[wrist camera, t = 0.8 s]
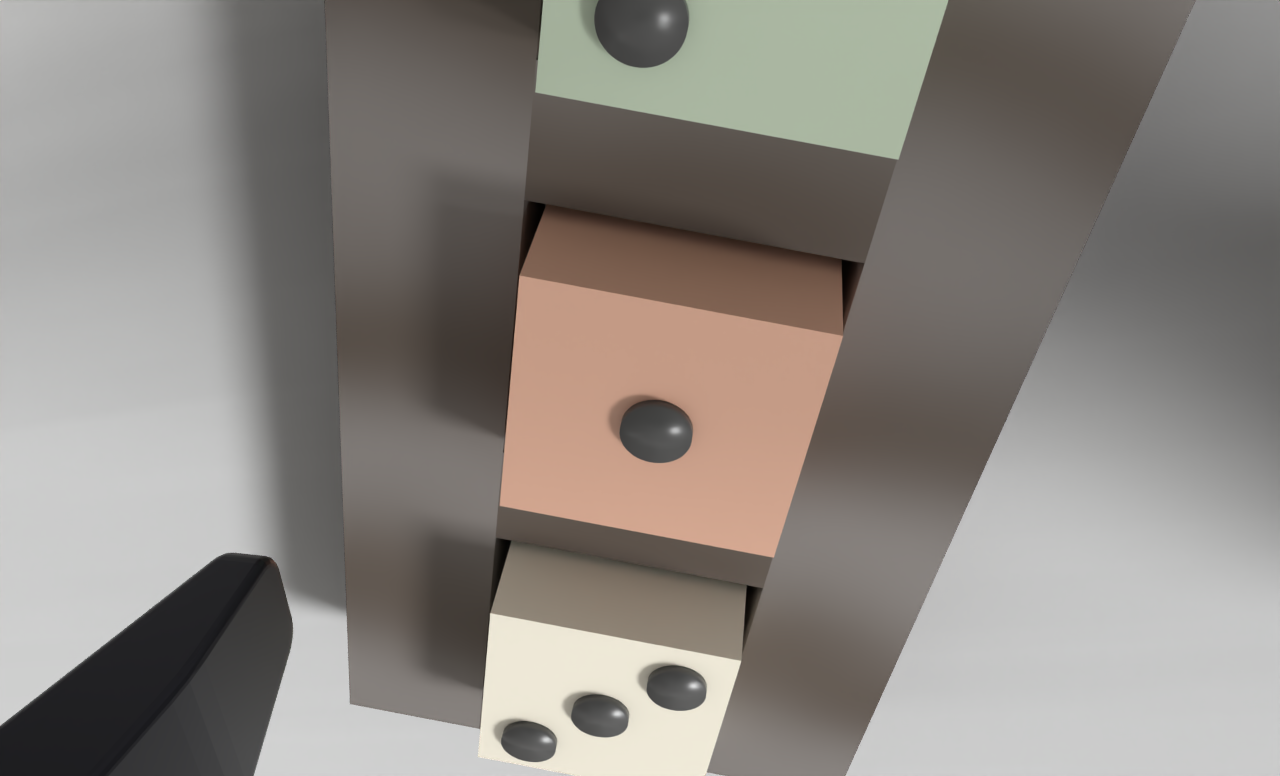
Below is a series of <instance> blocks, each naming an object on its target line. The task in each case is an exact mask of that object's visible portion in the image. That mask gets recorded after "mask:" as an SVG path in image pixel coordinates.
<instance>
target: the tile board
mask: <svg viewBox="0 0 1280 776" xmlns="http://www.w3.org/2000/svg"><path fill="white" fill-rule="evenodd" d="M1195 1H1196V0H948V3H947V6H946V10H945V13H944V16H943V19H942V22H941V26H940V29H939V32H938V35H937V38H936V42H935V45H934V48H933V51H932V54H931V58H930V61H929V64H928V67H927V70H926V73H925V77H924V80H923V83H922V86H921V89H920V93H919V96H918V99H917V102H916V105H915V109H914V112H913V115H912V118H911V121H910V125H909V128H908V131H907V134H906V137H905V141H904V144H903V147H902V150H901V153H900V156H899V160H897V159H892V158H886V157H881V156H876V155H870V154H865V153H859V152H854V151H849V150H843V149H838V148H832V147H827V146H822V145H816V144H811V143H805V142H800V141H795V140H789V139H784V138H779V137H773V136H768V135H762V134H757V133H752V132H746V131H741V130H735V129H730V128H725V127H719V126H714V125H708V124H703V123H698V122H692V121H687V120H681V119H676V118H671V117H665V116H660V115H654V114H649V113H644V112H638V111H633V110H628V109H622V108H617V107H611V106H606V105H601V104H595V103H590V102H584V101H579V100H574V99H568V98H563V97H557V96H552V95H547V94H541V93H536V92H535V90H536V79H537V67H538V55H539V44H540V32H541V21H542V9H543V0H325V25H326V53H327V81H328V108H329V136H330V163H331V191H332V219H333V246H334V274H335V302H336V329H337V357H338V384H339V412H340V440H341V467H342V495H343V523H344V550H345V578H346V606H347V633H348V661H349V688H350V704H353V705H358V706H364V707H369V708H374V709H379V710H384V711H390V712H395V713H400V714H405V715H411V716H416V717H421V718H426V719H432V720H437V721H442V722H447V723H452V724H458V725H463V726H468V727H473V728H479V729H480V727H481V716H482V704H483V693H484V681H485V669H486V658H487V646H488V635H489V623H490V613H491V609H492V606H493V602H494V599H495V596H496V592H497V589H498V585H499V582H500V579H501V575H502V572H503V568H504V565H505V561H506V558H507V555H508V551H509V548H510V544H511V541H517V542H522V543H528V544H533V545H538V546H543V547H549V548H554V549H559V550H564V551H570V552H575V553H580V554H586V555H591V556H596V557H601V558H607V559H612V560H617V561H623V562H628V563H633V564H638V565H644V566H649V567H654V568H659V569H665V570H670V571H675V572H681V573H686V574H691V575H696V576H702V577H707V578H712V579H718V580H723V581H728V582H733V583H739V584H744V585H747V588H746V602H745V617H744V631H743V646H742V660H741V664H740V667H739V670H738V674H737V677H736V680H735V683H734V686H733V690H732V693H731V696H730V699H729V702H728V705H727V709H726V712H725V715H724V718H723V721H722V725H721V728H720V731H719V734H718V737H717V741H716V744H715V747H714V750H713V753H712V757H711V760H710V763H709V766H708V769H707V772H709V773H714V774H719V775H724V776H845V775H846V773H847V771H848V769H849V766H850V764H851V762H852V760H853V758H854V755H855V753H856V751H857V749H858V746H859V744H860V742H861V740H862V738H863V735H864V733H865V731H866V729H867V727H868V724H869V722H870V720H871V718H872V715H873V713H874V711H875V709H876V707H877V704H878V702H879V700H880V698H881V696H882V693H883V691H884V689H885V687H886V684H887V682H888V680H889V678H890V676H891V673H892V671H893V669H894V667H895V665H896V662H897V660H898V658H899V656H900V654H901V651H902V649H903V647H904V645H905V642H906V640H907V638H908V636H909V634H910V631H911V629H912V627H913V625H914V623H915V620H916V618H917V616H918V614H919V611H920V609H921V607H922V605H923V603H924V600H925V598H926V596H927V594H928V592H929V589H930V587H931V585H932V583H933V580H934V578H935V576H936V574H937V572H938V569H939V567H940V565H941V563H942V561H943V558H944V556H945V554H946V552H947V549H948V547H949V545H950V543H951V541H952V538H953V536H954V534H955V532H956V530H957V527H958V525H959V523H960V521H961V518H962V516H963V514H964V512H965V510H966V507H967V505H968V503H969V501H970V499H971V496H972V494H973V492H974V490H975V487H976V485H977V483H978V481H979V479H980V476H981V474H982V472H983V470H984V468H985V465H986V463H987V461H988V459H989V457H990V454H991V452H992V450H993V448H994V445H995V443H996V441H997V439H998V437H999V434H1000V432H1001V430H1002V428H1003V426H1004V423H1005V421H1006V419H1007V417H1008V414H1009V412H1010V410H1011V408H1012V406H1013V403H1014V401H1015V399H1016V397H1017V395H1018V392H1019V390H1020V388H1021V386H1022V383H1023V381H1024V379H1025V377H1026V375H1027V372H1028V370H1029V368H1030V366H1031V364H1032V361H1033V359H1034V357H1035V355H1036V352H1037V350H1038V348H1039V346H1040V344H1041V341H1042V339H1043V337H1044V335H1045V333H1046V330H1047V328H1048V326H1049V324H1050V321H1051V319H1052V317H1053V315H1054V313H1055V310H1056V308H1057V306H1058V304H1059V302H1060V299H1061V297H1062V295H1063V293H1064V290H1065V288H1066V286H1067V284H1068V282H1069V279H1070V277H1071V275H1072V273H1073V271H1074V268H1075V266H1076V264H1077V262H1078V260H1079V257H1080V255H1081V253H1082V251H1083V248H1084V246H1085V244H1086V242H1087V240H1088V237H1089V235H1090V233H1091V231H1092V229H1093V226H1094V224H1095V222H1096V220H1097V217H1098V215H1099V213H1100V211H1101V209H1102V206H1103V204H1104V202H1105V200H1106V198H1107V195H1108V193H1109V191H1110V189H1111V186H1112V184H1113V182H1114V180H1115V178H1116V175H1117V173H1118V171H1119V169H1120V167H1121V164H1122V162H1123V160H1124V158H1125V155H1126V153H1127V151H1128V149H1129V147H1130V144H1131V142H1132V140H1133V138H1134V136H1135V133H1136V131H1137V129H1138V127H1139V124H1140V122H1141V120H1142V118H1143V116H1144V113H1145V111H1146V109H1147V107H1148V105H1149V102H1150V100H1151V98H1152V96H1153V93H1154V91H1155V89H1156V87H1157V85H1158V82H1159V80H1160V78H1161V76H1162V74H1163V71H1164V69H1165V67H1166V65H1167V63H1168V60H1169V58H1170V56H1171V54H1172V51H1173V49H1174V47H1175V45H1176V43H1177V40H1178V38H1179V36H1180V34H1181V32H1182V29H1183V27H1184V25H1185V23H1186V20H1187V18H1188V16H1189V14H1190V12H1191V9H1192V7H1193V5H1194V3H1195ZM545 204H549V205H554V206H559V207H565V208H570V209H575V210H581V211H586V212H591V213H597V214H602V215H608V216H613V217H618V218H624V219H629V220H634V221H640V222H645V223H650V224H656V225H661V226H667V227H672V228H677V229H683V230H688V231H693V232H699V233H704V234H709V235H715V236H720V237H726V238H731V239H736V240H742V241H747V242H752V243H758V244H763V245H768V246H774V247H779V248H785V249H790V250H795V251H801V252H806V253H811V254H817V255H822V256H827V257H833V258H838V259H841V261H842V304H843V338H842V342H841V345H840V348H839V351H838V354H837V358H836V361H835V364H834V367H833V370H832V374H831V377H830V380H829V383H828V386H827V389H826V393H825V396H824V399H823V402H822V405H821V409H820V412H819V415H818V418H817V421H816V425H815V428H814V431H813V434H812V437H811V441H810V444H809V447H808V450H807V453H806V457H805V460H804V463H803V466H802V469H801V472H800V476H799V479H798V482H797V485H796V488H795V492H794V495H793V498H792V501H791V504H790V508H789V511H788V514H787V517H786V520H785V524H784V527H783V530H782V533H781V536H780V539H779V543H778V546H777V549H776V552H775V555H774V558H773V557H768V556H762V555H757V554H752V553H747V552H741V551H736V550H731V549H725V548H720V547H715V546H710V545H704V544H699V543H694V542H688V541H683V540H678V539H673V538H667V537H662V536H657V535H651V534H646V533H641V532H636V531H630V530H625V529H620V528H614V527H609V526H604V525H599V524H593V523H588V522H583V521H577V520H572V519H567V518H562V517H556V516H551V515H546V514H540V513H535V512H530V511H525V510H519V509H514V508H509V507H503V506H500V496H501V484H502V472H503V461H504V449H505V438H506V426H507V415H508V403H509V391H510V380H511V368H512V357H513V345H514V333H515V322H516V310H517V299H518V287H519V276H520V273H521V270H522V268H523V265H524V262H525V260H526V257H527V254H528V252H529V249H530V247H531V244H532V241H533V239H534V236H535V233H536V231H537V228H538V225H539V223H540V220H541V218H542V215H543V212H544V210H545Z"/></svg>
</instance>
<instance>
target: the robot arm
mask: <svg viewBox="0 0 1280 776" xmlns="http://www.w3.org/2000/svg"><path fill="white" fill-rule="evenodd" d="M292 638H293V623H292V617H291V613H290V610H289V606H288V602H287V598H286V594H285V591H284V587H283V583H282V579H281V575H280V572H279V569H278V566H277V564H276V563H275V562H274V560H273V559H271V558H270V557H267V556H260V555H250V554H241V553H226V554H223V555H221V556H219V557H217V558H215V559H214V560H213V561H211V562H210V563H209V564H207V565H206V566H205V567H204V568H202V569H201V570H200V571H198V572H197V573H196V574H195V575H193V576H192V577H191V578H189V579H188V580H187V581H186V582H184V583H183V584H182V585H180V586H179V587H178V588H177V589H175V590H174V591H173V592H171V593H170V594H169V595H168V596H166V597H165V598H164V599H162V600H161V601H160V602H159V603H157V604H156V605H155V606H154V607H152V608H151V609H150V610H148V611H147V612H146V613H145V614H143V615H142V616H141V617H139V618H138V619H137V620H136V621H134V622H133V623H132V624H130V625H129V626H128V627H127V628H125V629H124V630H123V631H121V632H120V633H119V634H118V635H116V636H115V637H114V638H112V639H111V640H110V641H109V642H107V643H106V644H105V645H103V646H102V647H101V648H100V649H98V650H97V651H96V652H94V653H93V654H92V655H91V656H89V657H88V658H87V659H85V660H84V661H83V662H82V663H80V664H79V665H78V666H76V667H75V668H74V669H73V670H71V671H70V672H69V673H67V674H66V675H65V676H64V677H62V678H61V679H60V680H58V681H57V682H56V683H55V684H53V685H52V686H51V687H49V688H48V689H47V690H46V691H44V692H43V693H42V694H41V695H39V696H38V697H37V698H35V699H34V700H33V701H32V702H30V703H29V704H28V705H26V706H25V707H24V708H23V709H21V710H20V711H19V712H17V713H16V714H15V715H14V716H12V717H11V718H10V719H8V720H7V721H6V722H5V723H3V724H2V725H1V726H0V776H254V773H255V769H256V766H257V762H258V759H259V755H260V752H261V749H262V745H263V742H264V738H265V735H266V731H267V728H268V725H269V721H270V718H271V714H272V711H273V708H274V704H275V701H276V697H277V694H278V690H279V687H280V684H281V680H282V677H283V673H284V670H285V666H286V663H287V660H288V656H289V653H290V649H291V644H292Z"/></svg>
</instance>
